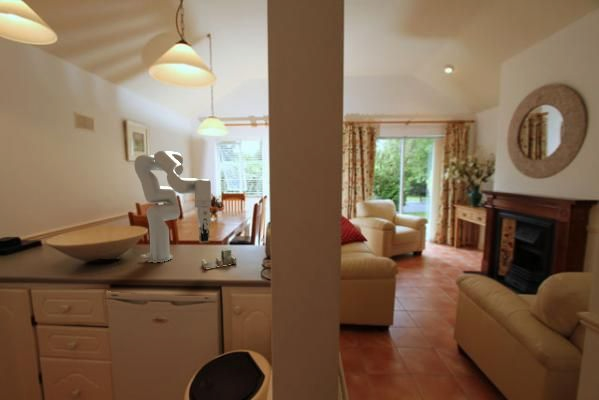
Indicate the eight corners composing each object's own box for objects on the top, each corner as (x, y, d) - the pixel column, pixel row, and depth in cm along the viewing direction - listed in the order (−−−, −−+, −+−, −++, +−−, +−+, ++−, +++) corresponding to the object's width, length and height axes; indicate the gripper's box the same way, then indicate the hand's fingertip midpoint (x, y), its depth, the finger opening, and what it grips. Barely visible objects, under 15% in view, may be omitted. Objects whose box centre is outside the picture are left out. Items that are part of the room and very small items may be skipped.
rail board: (204, 270, 125) (204, 255, 124) (201, 265, 132) (201, 251, 131) (236, 264, 134) (236, 250, 133) (232, 260, 141) (232, 246, 140)
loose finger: (200, 243, 121) (199, 229, 120) (199, 241, 125) (198, 227, 124) (209, 242, 123) (209, 228, 123) (208, 240, 127) (208, 226, 126)
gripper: (214, 205, 117) (214, 242, 118) (207, 202, 131) (208, 235, 133) (197, 206, 113) (198, 244, 115) (192, 202, 127) (193, 237, 129)
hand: (203, 239), depth 124 cm, fingers closed on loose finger, 4 cm apart
